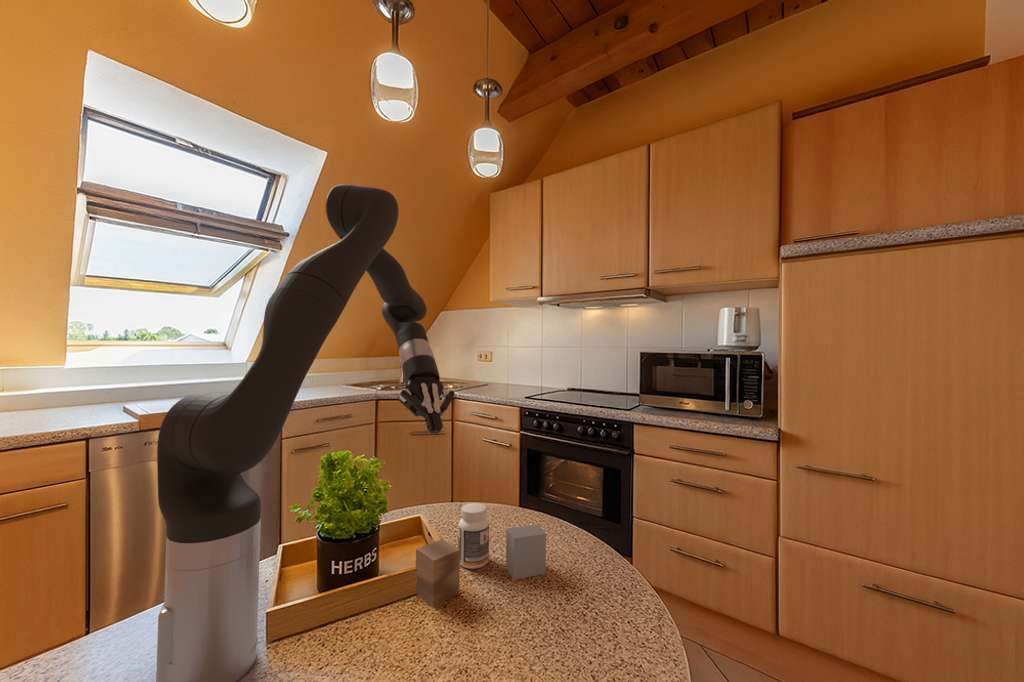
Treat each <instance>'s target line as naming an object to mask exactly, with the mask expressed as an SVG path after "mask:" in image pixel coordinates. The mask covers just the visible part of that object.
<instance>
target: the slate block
mask: <svg viewBox="0 0 1024 682" xmlns="http://www.w3.org/2000/svg"><path fill="white" fill-rule="evenodd" d="M505 536H506V540H505V541H506V542H505V543H506V544H505V568H506V570H507V572H508V573H509V575H510V577H511V578H512V580H513V581H514V580H520V579H524V578H529V577H535V576H536V577H537V576H542V575H546V572H547V571H546V570H547V568H546V567H547V562H546V561H547V559H546V557H547V552H546V551H547V533H546V532H545V531H544V530H543V529H542V527H540V526H539V524H529V525H523V526H514V527H507V528H506V535H505Z"/></svg>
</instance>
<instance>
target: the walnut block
mask: <svg viewBox="0 0 1024 682" xmlns="http://www.w3.org/2000/svg"><path fill="white" fill-rule="evenodd" d="M460 567H461V565H460V549H458V547H456V546H454V544H451V543H450V542H448V541H446V540H444V539H443V538H441V539H439V540H436V541H433V542H430V543H428V544H425V545H422V546H420V547H417V548H416V549H415V569H416V568H417V582H416V583H417V585H416V593H415V594H416V595H417V596H419V597H420V599H422V600H423V601H424V602H426V604H428V605H429V606H430V607H431V608H434V607H436V606H438V605H439V604H442V603H444V602H446V601H448V600H450V599H452V598H453V597H456V596H457V595H459V594H460V573H461V568H460Z"/></svg>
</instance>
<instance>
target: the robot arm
mask: <svg viewBox="0 0 1024 682" xmlns="http://www.w3.org/2000/svg"><path fill="white" fill-rule="evenodd" d="M325 212H326V213H325V214H326V218H327V220H328V223H329V225H330V227H331V228H332V230H333V231H334V233H335V234H336V236H337V237H338V239H340V240H338V241H337V242H335V243H333V244H331V245H328V246H327V247H325V248H323V249H321V250H319V251H317V252H315V253H313V254H311V255H310V256H308V257H306V258H305V259H303V260H301V261H299V262H298V263H297V264H296V265H295V266H293V267H292V268H291V269H290V270H289V271H288V272H287V274H286V275H285V276H284V277H283V279H282V280H281V282H279V285H277V287H276V288H275V290H274V292H273V293H272V294H271V296H270V298H269V299H268V301H267V304H266V307H265V311H264V315H263V328H262V329H263V331H262V343H261V347H260V350H259V353H258V354H257V356H256V359H255V360H254V362H253V363H252V365H251V366H250V368H249V369H248V371H247V372H246V374H245V375H244V377H243V378H242V379H241V380H240V382H239V383H238V384H237V386H236V387H235V388H234V389H233V390H232V392H230V393H228V392H227V393H226V392H213V391H210V392H209V391H208V392H207V391H204V392H198V393H192V394H189V395H186V396H184V397H183V398H181V399H179V400H178V401H177V402H175V403H174V404H173V405H172V406H171V407H170V409H169V410H168V411H167V413H166V414H165V416H164V417H163V419H162V422H161V425H160V428H159V433H158V437H157V445H156V446H157V447H156V448H157V451H156V458H157V461H156V463H157V469H156V470H157V502H158V507H159V509H160V513H161V515H162V517H163V519H164V522H165V524H166V533H165V534H166V537H165V538H166V540H165V541H166V542H165V544H166V545H165V570H164V601H163V605H162V607H161V609H160V611H159V614H158V618H157V620H158V621H157V642H156V645H157V646H156V648H157V649H156V671H155V672H156V674H155V675H156V676H155V677H156V678H155V682H238V681H239V680H240V679H242V677H243V676H244V675H246V674H247V673H248V672H249V670H250V669H251V668H252V667H253V666H254V663H255V661H256V658H257V654H258V653H257V652H258V648H257V647H258V639H259V638H258V623H259V594H260V593H259V591H260V587H259V585H260V557H261V556H260V554H261V552H260V551H261V525H262V524H261V521H262V519H261V517H262V500H261V497H260V495H259V494H258V492H257V491H256V490H255V489H253V488H252V487H251V486H250V485H249V484H248V483H247V482H246V481H245V479H244V478H243V475H242V473H244V472H248V471H249V470H251V469H253V468H254V467H256V466H257V465H259V464H260V463H261V462H262V461H263V460H264V459H265V458H266V457H267V456H268V454H269V453H270V452H271V450H272V448H273V447H274V446H275V444H276V442H277V440H278V438H279V436H280V434H281V432H282V429H283V428H284V426H285V423H286V421H287V418H288V416H289V414H290V412H291V409H292V407H293V405H294V402H295V400H296V398H297V395H298V393H299V391H300V388H301V387H302V385H303V382H304V380H305V378H306V376H307V374H308V373H309V371H310V368H311V367H312V365H313V363H314V361H315V360H316V358H317V356H318V354H319V353H320V350H321V348H322V346H323V344H325V341H326V339H327V338H328V336H329V334H330V333H331V331H332V330H333V328H334V327H335V325H336V324H337V322H338V321H339V318H340V317H341V315H342V313H343V312H344V309H345V308H346V306H347V304H348V302H349V300H350V298H351V296H352V294H353V293H354V291H355V290H356V287H357V286H358V285H359V282H360V281H361V279H362V277H363V276H364V275H365V274H366V272H367V274H368V275H369V277H370V279H371V280H372V282H373V283H374V285H375V288H376V290H377V292H378V293H379V296H380V298H381V299H382V301H384V303H383V304H382V306H381V314H382V316H383V319H384V321H385V323H386V324H387V326H389V328H390V330H391V331H392V332H393V335H394V337H395V341H396V344H397V348H398V353H399V361H400V362H399V363H400V366H401V367H400V368H401V371H402V375H403V379H404V383H405V385H406V386H405V389H402V390H401V392H400V393H399V395H398V396H397V399H396V400H397V401H398V402H400V403H401V404H402V405H403V406H404V407H405V408H406V409H407V410H408V411H409V412H411V414H413V415H414V416H415V417H422V418H423V419H424V420H425V424H426V429H427V431H428V433H430V434H431V435H438V434H440V433H441V431H442V430H443V427H444V425H443V420H442V416H443V414H444V413H445V412H446V411H447V410H448V407H449V406H450V403H451V402H452V400H453V398H454V396H455V394H456V393H455V392H454V391H453V390H450V391H448V390H447V389H445V388H444V384H443V383H442V382H441V380H440V372H439V368H438V365H437V362H436V359H435V355H434V353H433V350H432V347H431V345H430V342H429V339H428V336H427V332H426V329H425V326H423V325H422V323H419V322H421V321H422V320H424V318H425V317H426V316H427V311H428V310H427V305H426V303H425V301H424V298H423V297H422V296H421V295H420V294H419V293H418V292H417V291H416V290H415V289H414V288H413V287H412V285H411V284H410V282H409V279H408V277H407V274H406V272H405V269H404V268H403V266H402V265H401V263H400V262H399V261H398V260H397V259H396V258H395V257H394V256H393V255H392V254H391V253H390V252H388V251H387V250H386V249H385V246H386V244H387V243H388V242H389V241H390V238H391V237H392V235H393V233H394V232H395V229H396V226H397V224H398V221H399V204H398V200H397V199H396V198H395V196H394V195H393V194H392V193H391V192H390V191H388V190H386V189H383V188H379V187H372V186H365V185H356V184H349V183H347V184H346V183H341V184H336V185H335V186H333V187H331V189H330V190H329V191H328V193H327V196H326V200H325ZM440 398H441V400H440ZM440 401H442V402H441V405H440Z"/></svg>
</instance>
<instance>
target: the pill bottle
mask: <svg viewBox="0 0 1024 682" xmlns="http://www.w3.org/2000/svg"><path fill="white" fill-rule="evenodd" d="M487 512H488V510H487V506H486V505H485V504H484V503H480V502H479V503H478V502H477V503H476V502H474V503H473V502H472V503H467V504H464V505H462V507H461V510H460V516H461V518H460V520H459V522H458V524H457V525H458V526H457V527H458V533H457V534H458V537H457V539H458V540H457V541H458V543H457V546H458V547H457V548H458V549H460V567H463V568H465V569H471V570H474V569H480V568H483V567H484V566H486V565H487V564H488V563H489V560H490V523H489V519H488V518H487V517H486V515H487Z"/></svg>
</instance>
